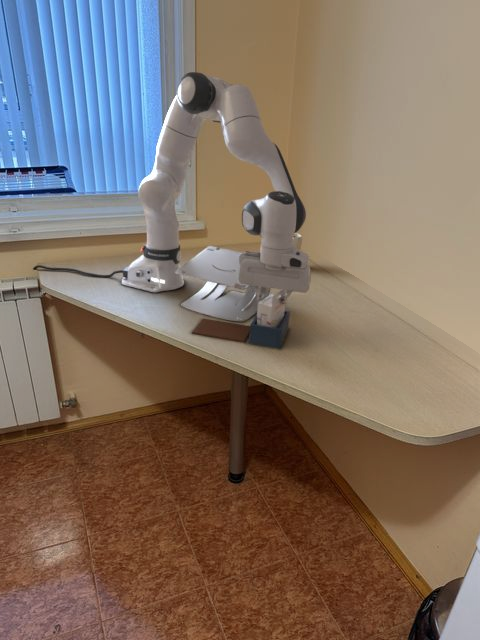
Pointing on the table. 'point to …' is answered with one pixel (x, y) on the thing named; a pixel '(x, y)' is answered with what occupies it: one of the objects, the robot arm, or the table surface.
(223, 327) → the cork mat
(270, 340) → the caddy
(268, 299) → the ink cartridge box
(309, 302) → the table surface
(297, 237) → the character mug
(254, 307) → the laptop stand
